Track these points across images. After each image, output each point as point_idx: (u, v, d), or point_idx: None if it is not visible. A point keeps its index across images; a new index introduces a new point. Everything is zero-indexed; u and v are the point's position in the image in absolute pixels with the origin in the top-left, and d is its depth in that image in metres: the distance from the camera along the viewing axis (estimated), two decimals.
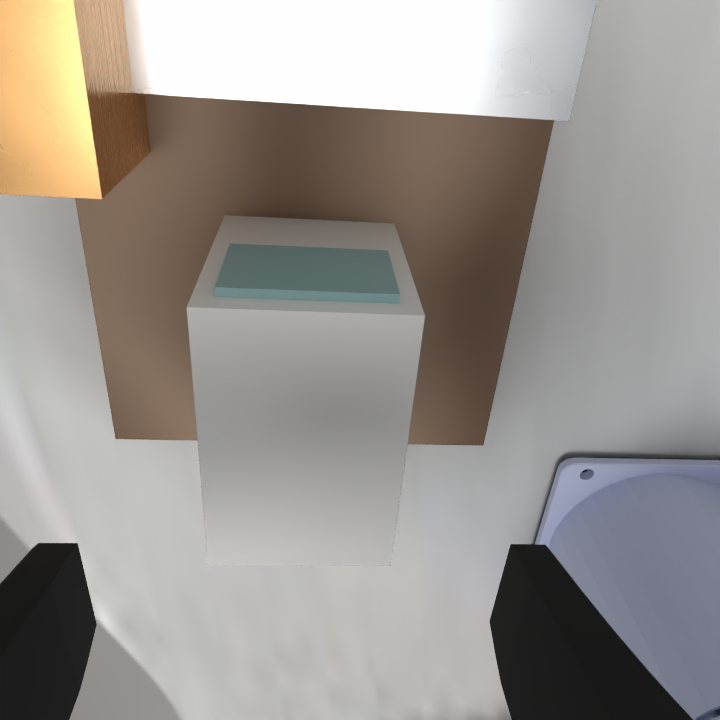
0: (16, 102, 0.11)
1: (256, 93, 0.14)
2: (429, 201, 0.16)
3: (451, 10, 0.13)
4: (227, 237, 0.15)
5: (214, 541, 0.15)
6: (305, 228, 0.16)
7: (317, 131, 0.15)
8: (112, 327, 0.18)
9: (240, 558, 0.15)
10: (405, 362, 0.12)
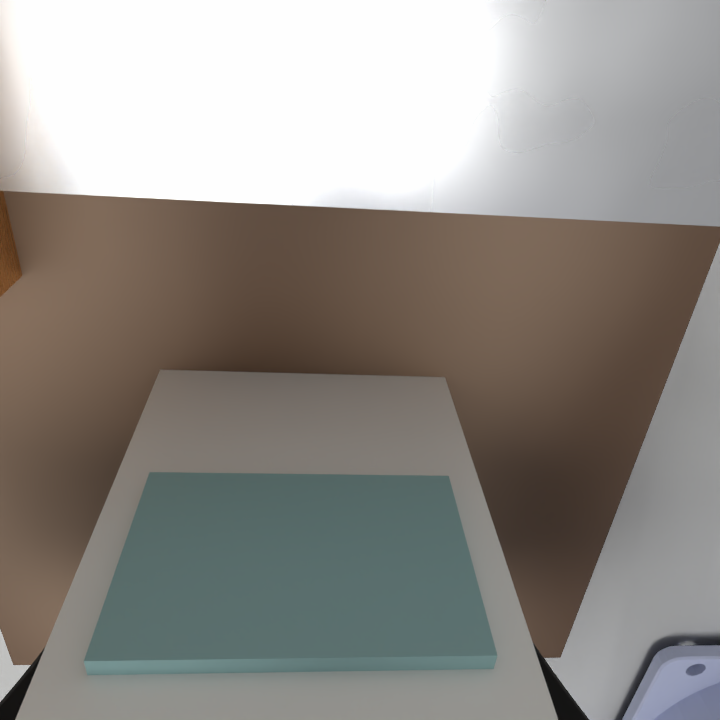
0: None
1: (199, 187, 0.07)
2: (504, 344, 0.10)
3: (585, 29, 0.07)
4: (154, 435, 0.08)
5: None
6: (295, 401, 0.09)
7: (316, 238, 0.09)
8: None
9: None
10: None
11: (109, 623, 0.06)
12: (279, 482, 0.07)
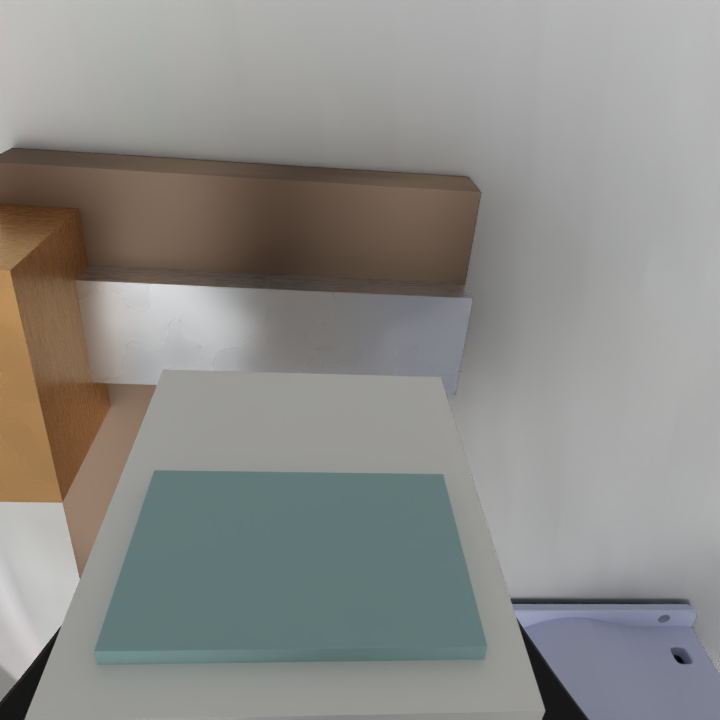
0: None
1: None
2: None
3: (351, 325, 0.16)
4: (158, 434, 0.08)
5: None
6: (295, 400, 0.09)
7: None
8: (81, 526, 0.21)
9: None
10: None
11: (117, 615, 0.06)
12: (279, 480, 0.08)
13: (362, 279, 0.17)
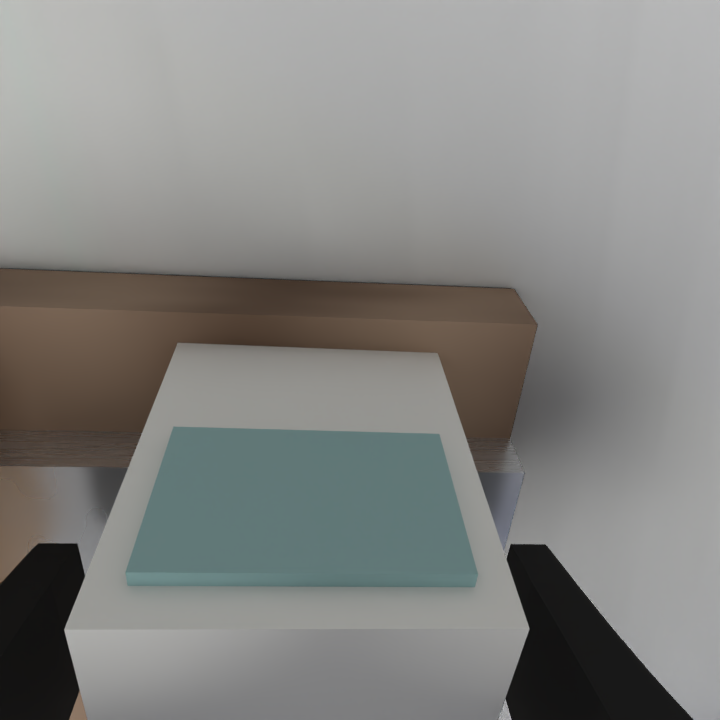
0: None
1: None
2: None
3: None
4: (176, 398, 0.09)
5: None
6: (301, 371, 0.10)
7: None
8: None
9: None
10: (483, 689, 0.07)
11: (145, 544, 0.06)
12: (288, 436, 0.08)
13: None
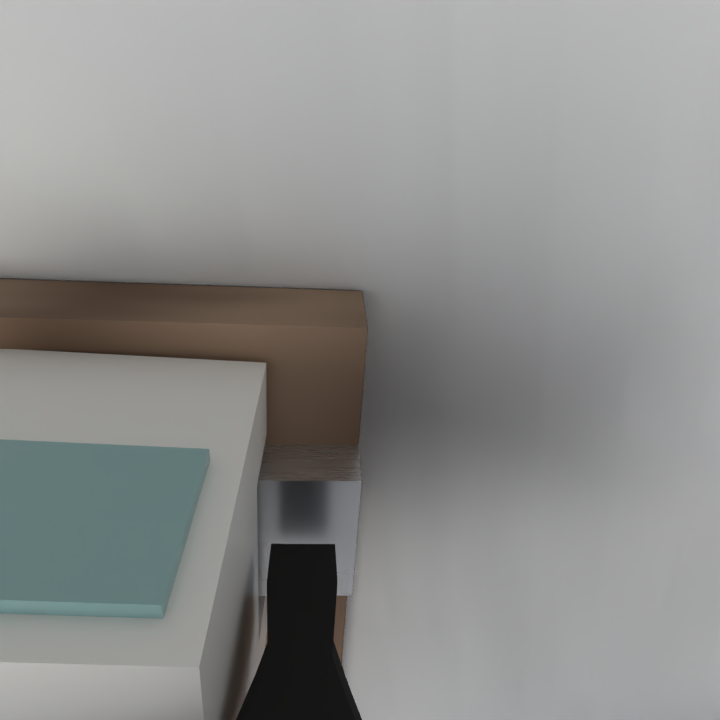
0: None
1: None
2: None
3: None
4: None
5: None
6: (106, 379, 0.10)
7: None
8: None
9: None
10: None
11: None
12: (42, 449, 0.08)
13: None
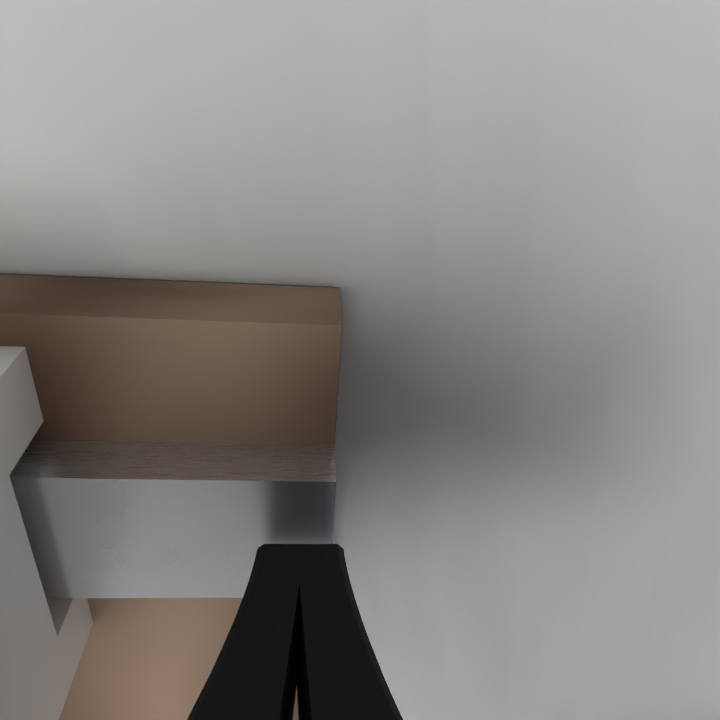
0: None
1: None
2: (194, 629, 0.14)
3: (154, 520, 0.11)
4: None
5: None
6: None
7: None
8: None
9: None
10: None
11: None
12: None
13: (178, 443, 0.11)
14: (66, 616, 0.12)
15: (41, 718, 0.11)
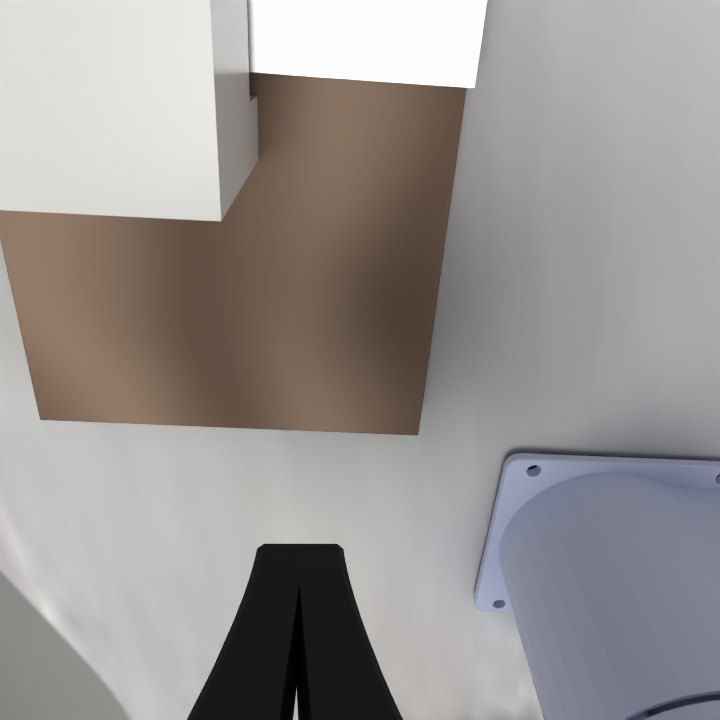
0: None
1: None
2: (343, 174, 0.16)
3: None
4: None
5: None
6: None
7: None
8: (29, 302, 0.17)
9: (2, 195, 0.11)
10: None
11: None
12: None
13: None
14: (252, 102, 0.14)
15: (243, 143, 0.13)
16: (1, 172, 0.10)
